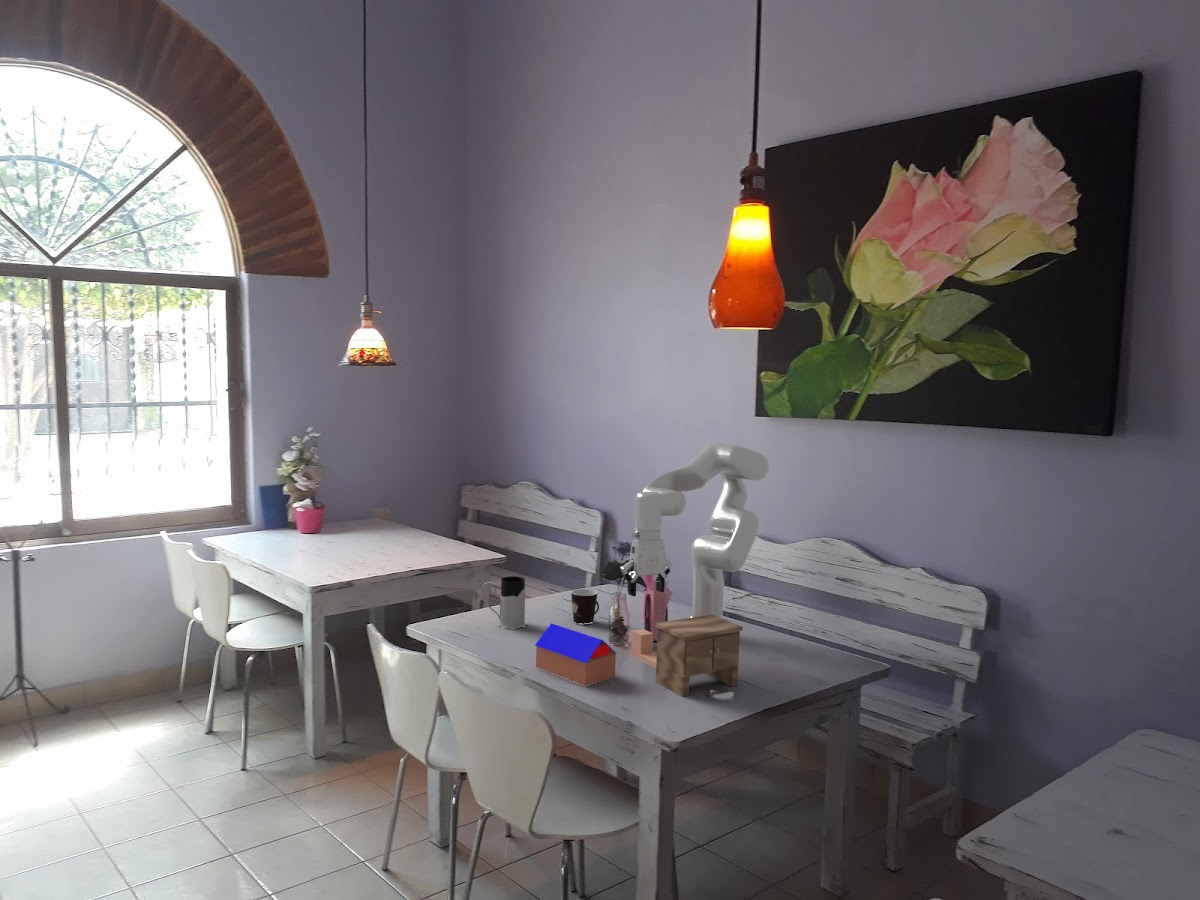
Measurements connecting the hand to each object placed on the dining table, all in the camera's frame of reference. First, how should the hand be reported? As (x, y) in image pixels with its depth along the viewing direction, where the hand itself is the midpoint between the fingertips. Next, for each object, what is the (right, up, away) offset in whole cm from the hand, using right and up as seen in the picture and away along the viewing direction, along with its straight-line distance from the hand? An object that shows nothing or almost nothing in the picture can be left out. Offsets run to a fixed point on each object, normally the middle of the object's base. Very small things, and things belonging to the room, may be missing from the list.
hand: (646, 593), depth 261 cm
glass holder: (-44, -15, +28) cm, 54 cm away
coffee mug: (-18, -15, +32) cm, 40 cm away
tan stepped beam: (+3, -19, -6) cm, 20 cm away
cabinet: (+12, -21, -20) cm, 32 cm away
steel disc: (+18, -22, -30) cm, 41 cm away
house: (-20, -20, -14) cm, 32 cm away
